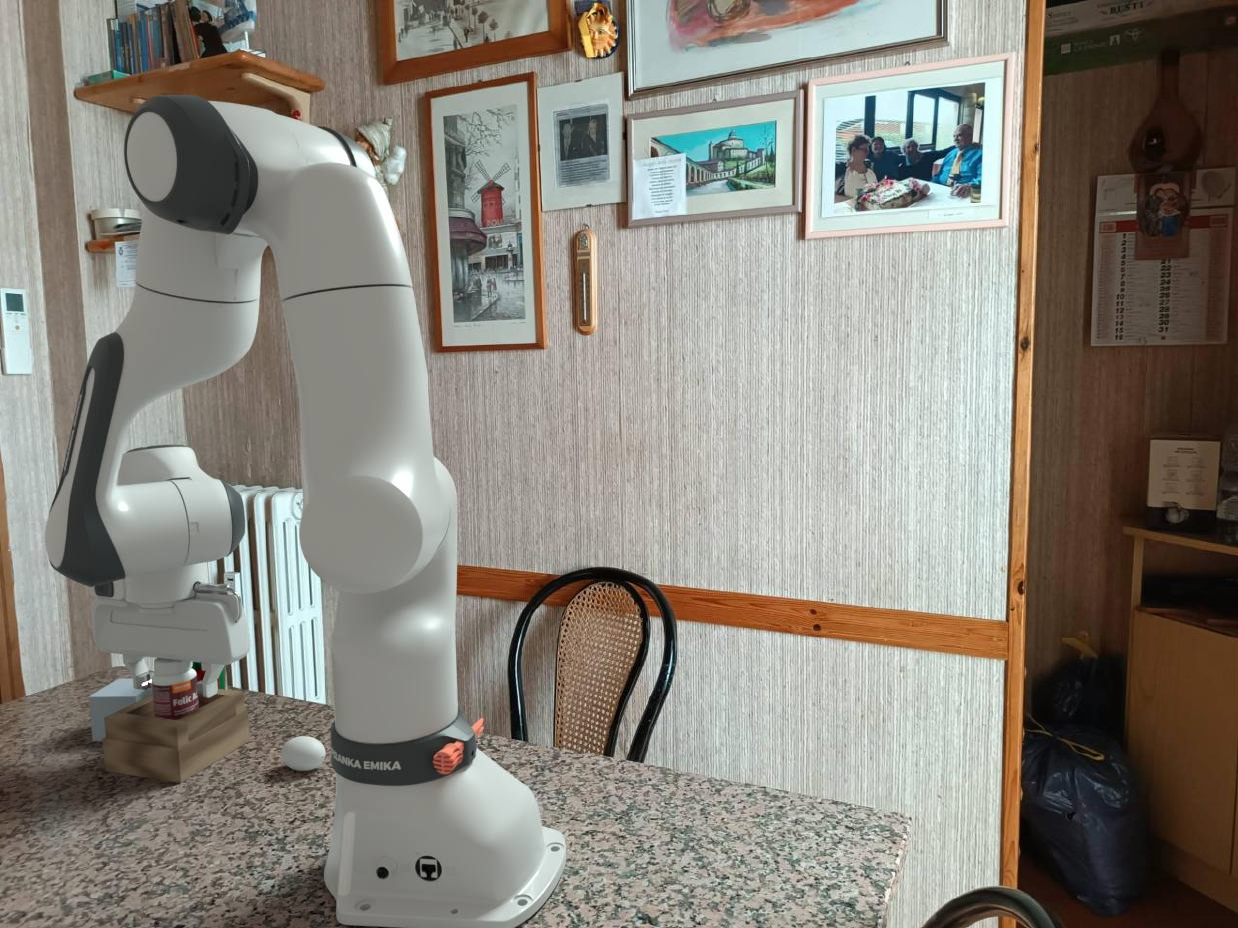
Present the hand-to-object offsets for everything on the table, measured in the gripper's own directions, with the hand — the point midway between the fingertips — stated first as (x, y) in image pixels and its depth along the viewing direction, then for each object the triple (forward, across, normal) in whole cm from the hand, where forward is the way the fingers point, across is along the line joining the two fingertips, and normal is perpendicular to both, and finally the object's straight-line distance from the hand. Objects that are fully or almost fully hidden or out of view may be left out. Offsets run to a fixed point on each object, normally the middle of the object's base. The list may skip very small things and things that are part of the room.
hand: (175, 691), depth 97 cm
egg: (+8, -17, -1) cm, 19 cm away
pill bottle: (+4, 0, 0) cm, 4 cm away
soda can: (+8, +4, -9) cm, 13 cm away
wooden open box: (+8, 0, 0) cm, 8 cm away
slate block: (+8, +12, -4) cm, 15 cm away
